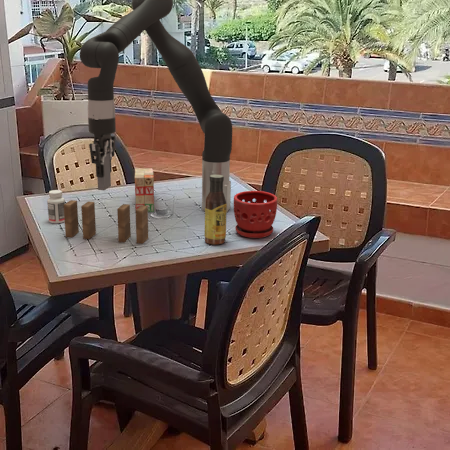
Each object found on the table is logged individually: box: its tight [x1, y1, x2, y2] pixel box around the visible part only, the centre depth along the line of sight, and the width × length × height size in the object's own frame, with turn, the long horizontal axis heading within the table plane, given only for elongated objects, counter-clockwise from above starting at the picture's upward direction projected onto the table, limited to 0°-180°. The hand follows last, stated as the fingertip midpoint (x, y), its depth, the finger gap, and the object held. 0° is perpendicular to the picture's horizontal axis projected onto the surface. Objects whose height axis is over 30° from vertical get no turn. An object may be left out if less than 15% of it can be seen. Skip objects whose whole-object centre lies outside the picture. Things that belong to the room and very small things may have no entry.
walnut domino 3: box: [116, 203, 132, 243], centre depth 191 cm, size 2×5×10 cm, turn 168°
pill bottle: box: [46, 189, 66, 224], centre depth 206 cm, size 5×5×10 cm
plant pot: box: [233, 190, 278, 239], centre depth 197 cm, size 13×13×12 cm
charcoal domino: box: [96, 152, 112, 191], centre depth 188 cm, size 2×5×10 cm, turn 168°
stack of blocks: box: [134, 167, 155, 213], centre depth 227 cm, size 21×6×12 cm, turn 7°
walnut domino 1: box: [64, 199, 80, 238], centre depth 194 cm, size 2×5×10 cm, turn 168°
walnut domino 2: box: [80, 201, 97, 240], centre depth 193 cm, size 2×5×10 cm, turn 168°
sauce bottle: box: [203, 175, 228, 246], centre depth 188 cm, size 6×6×20 cm
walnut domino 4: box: [134, 205, 149, 245], centre depth 190 cm, size 2×5×10 cm, turn 169°
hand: (103, 174), depth 188 cm, fingers closed on charcoal domino, 5 cm apart
